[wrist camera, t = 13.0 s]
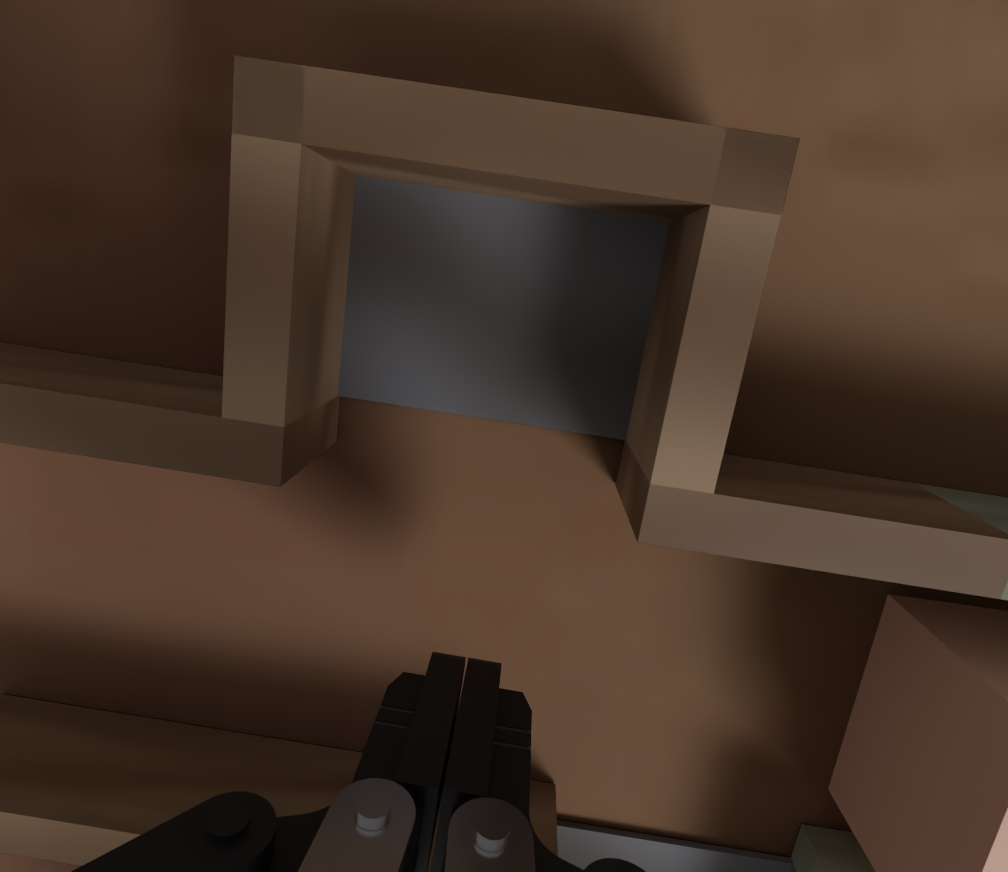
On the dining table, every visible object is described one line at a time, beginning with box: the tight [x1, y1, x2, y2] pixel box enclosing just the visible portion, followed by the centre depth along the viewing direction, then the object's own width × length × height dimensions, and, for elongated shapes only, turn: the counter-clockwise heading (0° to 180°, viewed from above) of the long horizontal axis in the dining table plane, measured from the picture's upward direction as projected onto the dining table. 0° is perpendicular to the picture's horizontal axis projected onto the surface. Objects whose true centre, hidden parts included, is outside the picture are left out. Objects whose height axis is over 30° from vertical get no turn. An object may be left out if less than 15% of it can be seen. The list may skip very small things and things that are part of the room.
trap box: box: [0, 55, 1008, 872], centre depth 15 cm, size 24×31×4 cm
